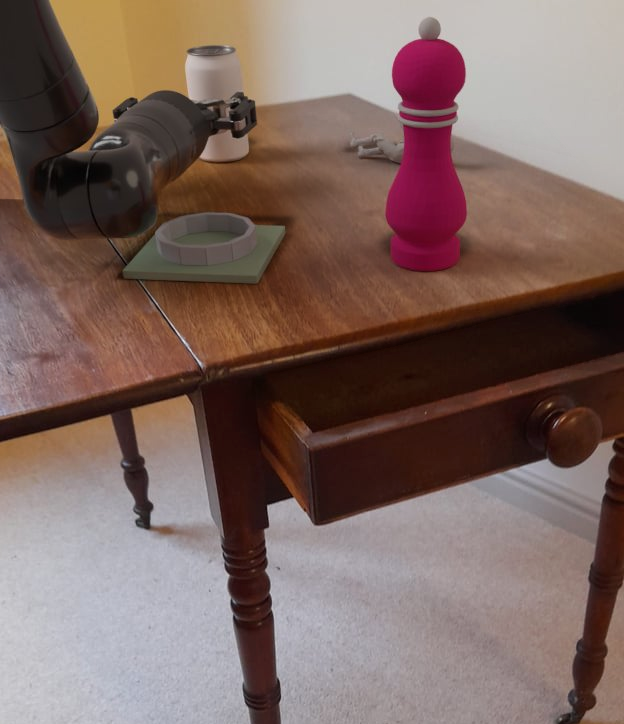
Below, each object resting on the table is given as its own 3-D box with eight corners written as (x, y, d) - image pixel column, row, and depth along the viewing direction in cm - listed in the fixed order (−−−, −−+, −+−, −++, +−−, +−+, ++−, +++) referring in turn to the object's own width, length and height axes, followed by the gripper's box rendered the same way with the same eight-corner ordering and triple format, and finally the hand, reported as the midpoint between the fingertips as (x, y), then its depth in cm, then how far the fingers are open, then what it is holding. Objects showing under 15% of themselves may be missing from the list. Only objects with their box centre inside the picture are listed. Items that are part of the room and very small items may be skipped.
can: (192, 164, 104) (178, 55, 97) (200, 148, 109) (187, 44, 102) (246, 163, 104) (236, 54, 97) (251, 147, 109) (242, 44, 103)
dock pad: (123, 279, 76) (118, 252, 75) (166, 229, 86) (162, 204, 85) (257, 284, 75) (254, 256, 74) (285, 233, 85) (283, 208, 84)
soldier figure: (369, 157, 109) (460, 131, 105) (371, 192, 108) (464, 167, 103) (342, 123, 102) (439, 94, 98) (344, 160, 101) (442, 132, 96)
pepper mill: (392, 241, 83) (392, 9, 72) (468, 245, 82) (479, 10, 71) (379, 271, 77) (376, 23, 66) (460, 276, 76) (471, 25, 65)
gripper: (224, 101, 82) (263, 65, 96) (80, 98, 84) (138, 64, 97) (233, 180, 87) (269, 136, 100) (95, 176, 88) (149, 133, 101)
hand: (204, 100), depth 98 cm, fingers open, 8 cm apart
